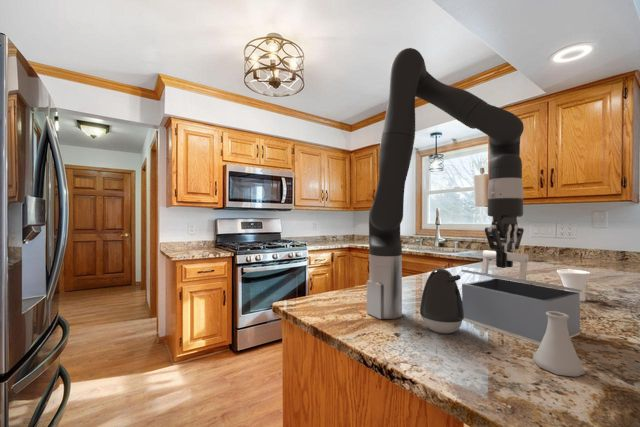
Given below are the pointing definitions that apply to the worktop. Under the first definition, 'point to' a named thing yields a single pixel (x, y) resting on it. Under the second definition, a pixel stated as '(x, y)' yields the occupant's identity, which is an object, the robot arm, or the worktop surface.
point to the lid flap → (523, 269)
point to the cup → (574, 280)
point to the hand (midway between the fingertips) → (504, 266)
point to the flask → (558, 348)
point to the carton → (518, 308)
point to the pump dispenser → (442, 302)
